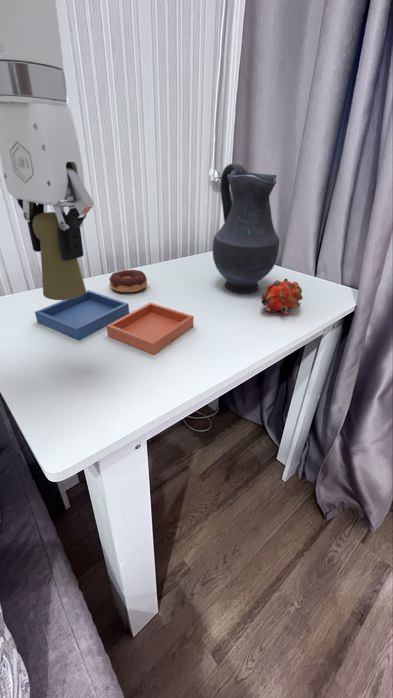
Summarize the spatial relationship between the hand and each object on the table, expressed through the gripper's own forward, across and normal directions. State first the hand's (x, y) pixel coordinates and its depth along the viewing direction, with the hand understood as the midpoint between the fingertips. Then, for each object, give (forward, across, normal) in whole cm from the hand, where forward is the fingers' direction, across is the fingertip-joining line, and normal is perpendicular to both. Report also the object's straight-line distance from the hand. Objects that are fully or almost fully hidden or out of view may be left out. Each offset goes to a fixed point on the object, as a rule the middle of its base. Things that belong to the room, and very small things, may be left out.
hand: (58, 252), depth 46 cm
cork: (+6, 0, 0) cm, 6 cm away
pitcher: (+20, +4, +54) cm, 58 cm away
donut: (+21, -19, +34) cm, 44 cm away
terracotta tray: (+21, +1, +19) cm, 28 cm away
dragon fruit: (+20, +20, +45) cm, 53 cm away
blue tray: (+21, -15, +15) cm, 30 cm away
